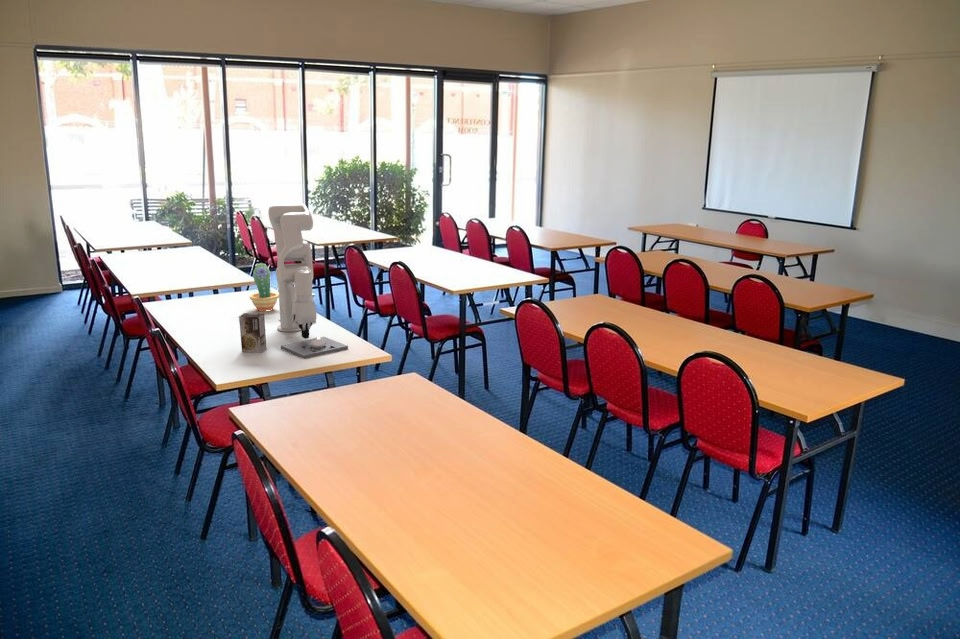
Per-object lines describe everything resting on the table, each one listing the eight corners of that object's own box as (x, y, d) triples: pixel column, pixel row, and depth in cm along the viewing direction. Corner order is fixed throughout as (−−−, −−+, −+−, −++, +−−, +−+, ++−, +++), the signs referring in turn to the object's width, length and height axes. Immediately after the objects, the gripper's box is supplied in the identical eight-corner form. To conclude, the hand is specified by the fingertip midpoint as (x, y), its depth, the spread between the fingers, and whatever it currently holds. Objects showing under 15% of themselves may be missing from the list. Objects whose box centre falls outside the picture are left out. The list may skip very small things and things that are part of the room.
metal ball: (313, 340, 316) (313, 353, 318) (326, 339, 319) (326, 352, 321) (308, 336, 321) (308, 349, 322) (321, 334, 324) (321, 347, 326)
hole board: (280, 348, 324) (280, 345, 323) (324, 339, 338) (324, 336, 338) (303, 358, 310) (303, 355, 309) (348, 349, 324) (348, 345, 324)
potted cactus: (244, 311, 388) (240, 265, 382) (260, 305, 403) (257, 260, 396) (269, 314, 384) (266, 267, 378) (285, 307, 398) (283, 262, 392)
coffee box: (267, 348, 323) (264, 313, 319) (261, 353, 317) (259, 316, 313) (247, 347, 324) (244, 312, 320) (241, 352, 318) (238, 316, 314)
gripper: (314, 293, 331) (315, 332, 336) (284, 298, 321) (286, 338, 326) (323, 297, 326) (324, 336, 331) (292, 302, 316) (294, 342, 321)
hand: (305, 337), depth 329 cm, fingers closed
